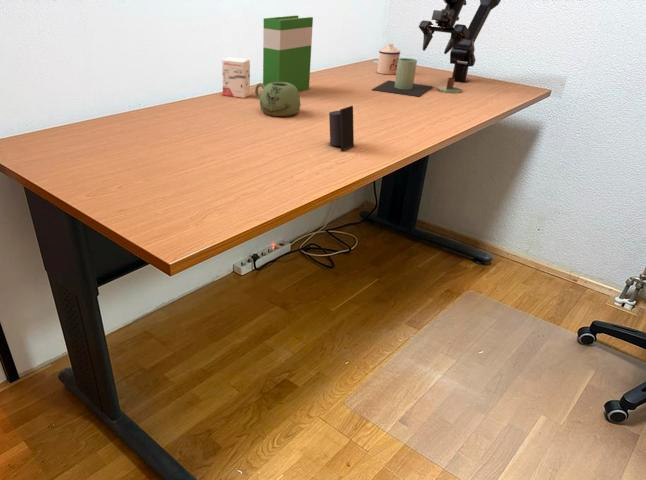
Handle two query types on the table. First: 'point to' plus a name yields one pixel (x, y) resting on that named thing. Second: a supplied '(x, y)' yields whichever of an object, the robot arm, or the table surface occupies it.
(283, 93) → the mug
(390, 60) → the teacup with lid
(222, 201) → the table surface
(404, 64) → the canister
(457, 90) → the lid
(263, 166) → the table surface
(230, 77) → the ink box
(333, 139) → the speaker
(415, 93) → the mat
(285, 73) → the hardback book
